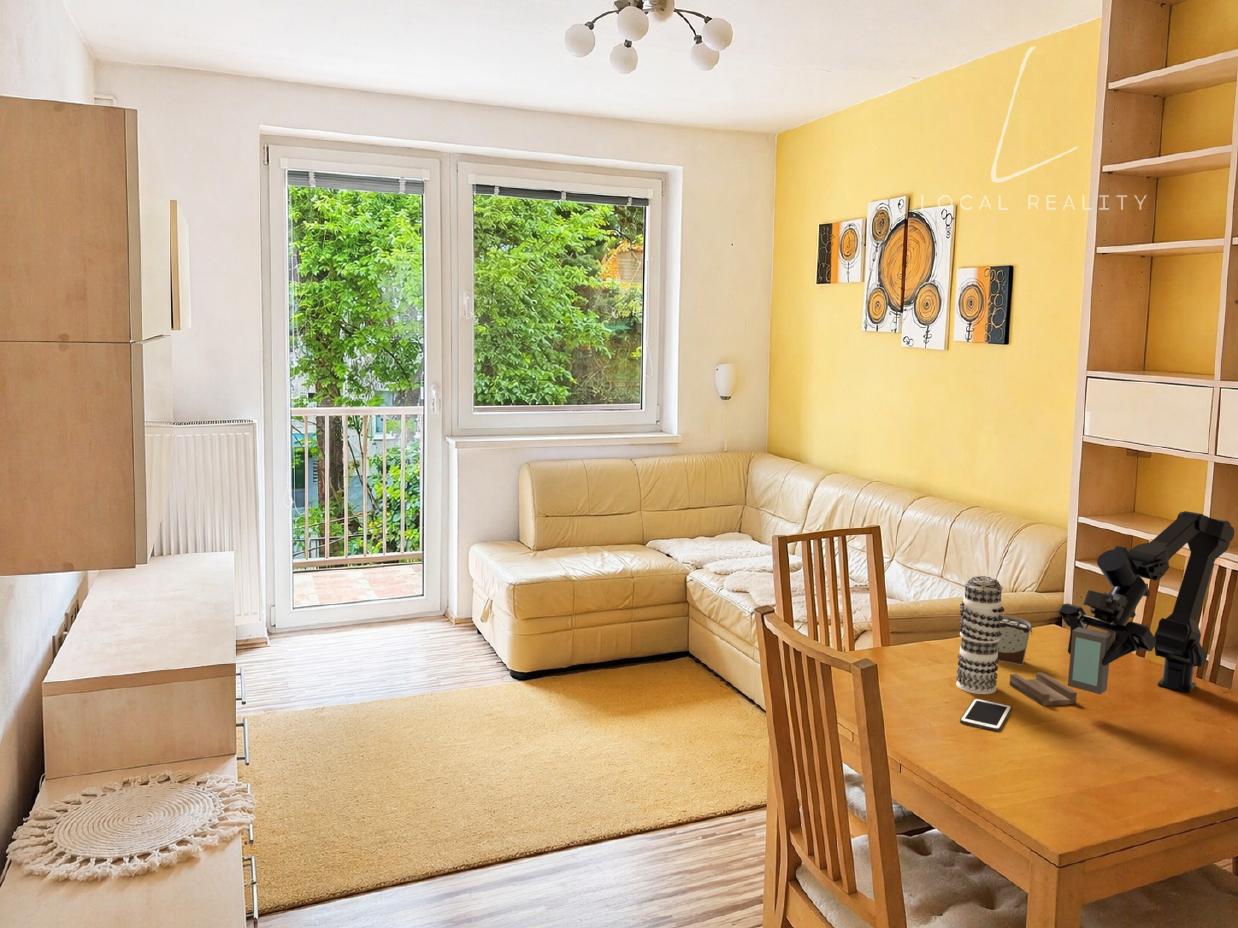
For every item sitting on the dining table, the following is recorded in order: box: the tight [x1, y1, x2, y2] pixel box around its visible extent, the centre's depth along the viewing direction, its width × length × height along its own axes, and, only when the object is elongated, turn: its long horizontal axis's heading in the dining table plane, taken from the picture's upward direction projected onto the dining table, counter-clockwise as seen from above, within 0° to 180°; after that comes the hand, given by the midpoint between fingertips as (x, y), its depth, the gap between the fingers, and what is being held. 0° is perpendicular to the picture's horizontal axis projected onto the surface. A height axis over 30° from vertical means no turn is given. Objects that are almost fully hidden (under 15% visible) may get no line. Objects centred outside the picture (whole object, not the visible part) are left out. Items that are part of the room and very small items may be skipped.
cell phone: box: [959, 697, 1012, 733], centre depth 194 cm, size 8×15×1 cm, turn 148°
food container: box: [997, 614, 1033, 667], centre depth 228 cm, size 12×6×10 cm, turn 58°
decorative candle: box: [955, 575, 1005, 695], centre depth 208 cm, size 9×9×25 cm
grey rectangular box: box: [1067, 627, 1113, 695], centre depth 193 cm, size 4×6×12 cm, turn 45°
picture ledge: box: [1009, 672, 1078, 707], centre depth 206 cm, size 8×12×2 cm, turn 11°
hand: (1085, 658), depth 193 cm, fingers closed on grey rectangular box, 7 cm apart
